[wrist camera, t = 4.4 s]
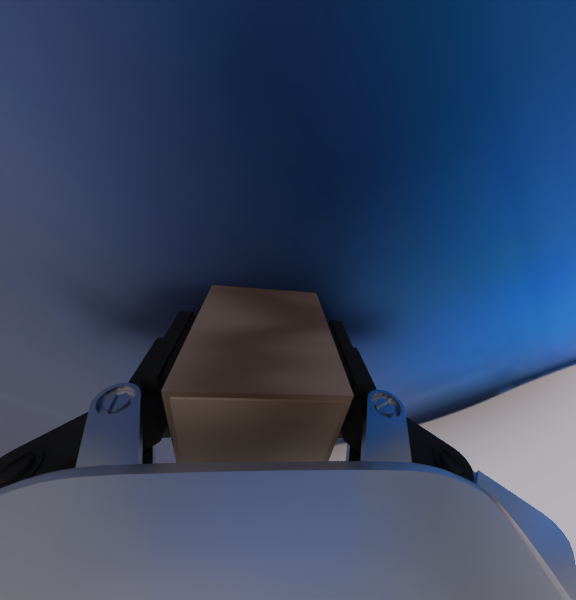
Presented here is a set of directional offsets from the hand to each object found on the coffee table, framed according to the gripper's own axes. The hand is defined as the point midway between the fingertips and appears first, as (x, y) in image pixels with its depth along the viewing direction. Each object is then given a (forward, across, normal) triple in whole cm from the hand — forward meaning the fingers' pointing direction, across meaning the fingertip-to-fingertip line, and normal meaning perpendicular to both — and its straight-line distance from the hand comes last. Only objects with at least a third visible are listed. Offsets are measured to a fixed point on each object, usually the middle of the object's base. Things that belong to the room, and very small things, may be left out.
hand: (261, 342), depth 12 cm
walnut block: (+1, 0, 0) cm, 1 cm away
